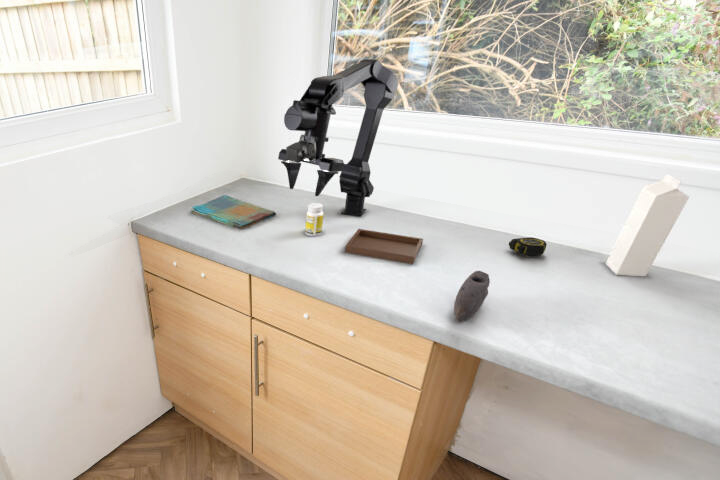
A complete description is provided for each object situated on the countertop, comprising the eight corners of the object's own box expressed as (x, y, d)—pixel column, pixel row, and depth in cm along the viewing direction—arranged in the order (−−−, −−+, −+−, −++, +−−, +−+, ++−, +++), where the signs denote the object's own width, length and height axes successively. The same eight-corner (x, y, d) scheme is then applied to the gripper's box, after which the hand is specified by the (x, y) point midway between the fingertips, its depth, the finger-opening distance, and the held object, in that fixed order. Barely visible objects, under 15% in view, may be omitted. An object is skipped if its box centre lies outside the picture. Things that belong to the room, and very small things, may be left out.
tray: (357, 235, 137) (358, 228, 135) (421, 245, 129) (423, 238, 128) (344, 252, 128) (345, 245, 127) (412, 264, 120) (414, 256, 119)
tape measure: (531, 247, 125) (536, 234, 123) (548, 258, 119) (554, 245, 117) (506, 249, 125) (510, 236, 123) (522, 260, 119) (527, 247, 117)
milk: (615, 275, 111) (663, 181, 98) (605, 263, 116) (649, 172, 103) (646, 276, 110) (698, 181, 97) (634, 265, 115) (682, 173, 102)
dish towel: (226, 200, 167) (225, 193, 165) (277, 215, 152) (277, 208, 151) (189, 213, 157) (189, 206, 156) (240, 231, 143) (240, 223, 141)
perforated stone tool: (468, 331, 95) (478, 302, 91) (441, 323, 98) (449, 294, 94) (487, 300, 104) (497, 272, 100) (462, 294, 107) (471, 266, 103)
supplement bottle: (320, 229, 141) (323, 202, 136) (322, 236, 137) (325, 207, 133) (304, 230, 142) (306, 202, 137) (305, 236, 138) (307, 208, 133)
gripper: (269, 126, 126) (260, 186, 133) (325, 136, 114) (311, 201, 121) (296, 128, 132) (286, 185, 140) (351, 137, 120) (337, 199, 128)
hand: (303, 192), depth 132 cm, fingers open, 9 cm apart
